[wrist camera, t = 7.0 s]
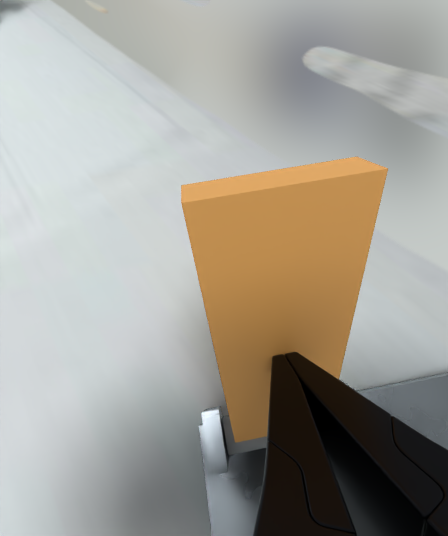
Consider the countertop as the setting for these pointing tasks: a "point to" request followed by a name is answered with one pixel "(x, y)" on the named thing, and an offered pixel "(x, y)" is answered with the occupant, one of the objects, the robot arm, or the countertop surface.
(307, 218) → the paddle
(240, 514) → the panel
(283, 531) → the robot arm
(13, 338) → the countertop surface
